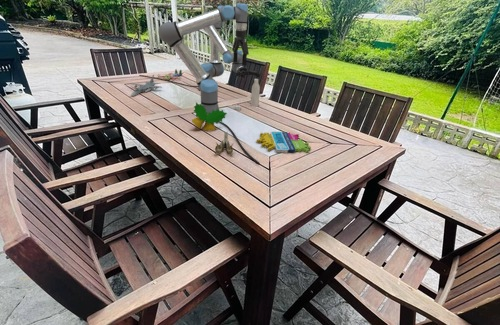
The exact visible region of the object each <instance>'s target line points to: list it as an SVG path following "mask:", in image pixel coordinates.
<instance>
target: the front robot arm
mask: <svg viewBox="0 0 500 325" xmlns="http://www.w3.org/2000/svg"><path fill="white" fill-rule="evenodd" d="M248 10H249V9H248V4H247V3H239V2H237V3H236V5H235V6H233V5H230V4H226V5H218V6H217V8H215V9H212V10H210V11H206V12H207V13H204V12H203V13H204V14H203V13H201V14H198V15H195V16H193V17H189V18H187V19H184V20H181V21H177V20H175V21H172V22H171V21H165V22H164V23H161V25H160V26H159V28H158V31H157V32H158V37H159V39H160V40H161V41H162V42H163V43H165V44H167V46H168V47H169V48H170V49H171V50H174V52H175V53H176V54H177V56H178V57H179V58H180V60H181V61H182V63H183V64H184V65H185V66H186V68H187V69H188V70H189V72H190V73H191V74H192V76H193V77H194V78H195V80H196V81H195V84H196V86H199V87H200V89H201V91H200V104H201V106H204V109H206V112H208V113H211V112H212V110H214V111H216V110H217V109H219V111H221V110H220V108H219V102H218V99H219V98H218V97H219V90H218V89H219V85H218V84H219V83H218V81H216V80H215V79H214V77H213V78H212V77H211V75H210V74H209V73H206V72H205V70H204V69H203V68H202V66H201V63H200V61H199V60H198V59H197V57H196V56H195V55H194V53H193V52H192V51H191V49H190V48H189V46H188V45H187V43H186V42H185V36H187V35H188V34H192V33H194V32H195V33H196V32H198V31H200V30H204V28H207V27H209V26H212V25H215V24H218V23H221V22H223V23H224V22H227V21H230V20H232V21H235V32H234V33H235V34H234V35H235V36H234V41H233V44H232V48H231V52H232V53H234V62H237V55H238V51H237V50H239V48H241V51H242V52H243V58H242V66H247V59H248V57H247V56H248V55H249V54H250V52H249V46H248V39H247V38H246V37H247V27H248V13H249V11H248ZM234 62H233V63H234ZM208 113H207V115H208ZM218 123H219V124H222V125H223V126H225V127H226V129H227V130H229V131H230V132H231V134H232V136H233V138H234V139H235V140H236V142H237V144H238V145H239V147H240V148H241V149H242V151H243V152H244V153H245V154H246V155H247V156H248V157H249V158H250V159H251V160H252V161H254V162H255V163H256V164H258V165H260V161H258V160H257V159H256V158H254V157H253V156H252V155H251V154H250V153H249V152H248V151H247V150H246V149H245V148H244V146H243V145H242V143H241V141H240V140H239V138H238V136H237V135H236V134H235V132H234V131H233V129H232V128H230V127H229V126H228V124H226V123H225V122H223V121H222V122H221V121H219V122H218Z"/></svg>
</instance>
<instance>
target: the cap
mask: <svg viewBox="0 0 500 325" xmlns="http://www.w3.org/2000/svg"><path fill="white" fill-rule="evenodd" d="M241 109H242V106H241V105H235V106H234V110H236V111H240V110H241Z"/></svg>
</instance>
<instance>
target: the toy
mask: <svg viewBox="0 0 500 325" xmlns="http://www.w3.org/2000/svg"><path fill="white" fill-rule="evenodd" d="M156 76H157V78H162V79H165V80H169V81H170V80H171V79H173V80H178V81H181V80H182V78H181V77H182V76H183V73H182V69H180V70H179V72H178V70H177V69H175V70H174V73H172V72H169V73H168V74H165V75H161V74H158V75H156ZM177 76H178V77H177ZM165 80H164V81H165Z"/></svg>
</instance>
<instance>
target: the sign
mask: <svg viewBox="0 0 500 325" xmlns="http://www.w3.org/2000/svg"><path fill="white" fill-rule="evenodd" d="M299 136H300V135H299V134H298V133H296V134H294V133H291V132H287V131H270V132H264V133H263V132H260V133H259V139H258V138H257V139H256V143H257V144H261V148H263V147H264V148H265V149H267V151H268V152H271V151H272V150H273V149H275V152H276V153H283V154H285V153H287V154H288V153H290V154H293V153H296V152H298V153H301V152H305V153H310V151H311V150H312V149H311V148H312V146H309V142H304V141H303V139H302V138H299Z"/></svg>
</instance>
